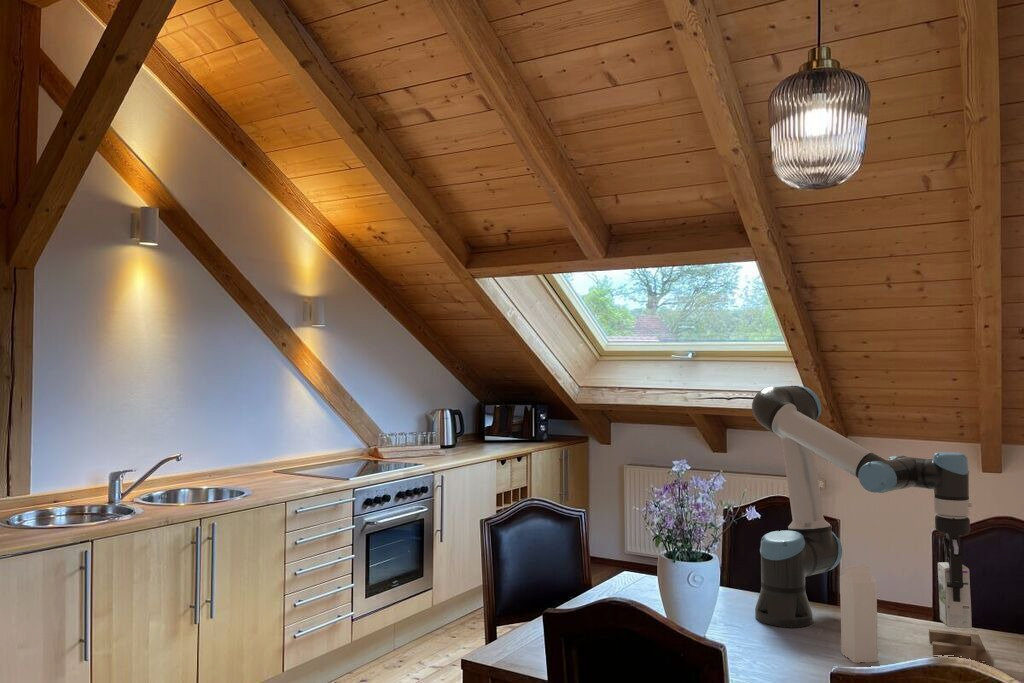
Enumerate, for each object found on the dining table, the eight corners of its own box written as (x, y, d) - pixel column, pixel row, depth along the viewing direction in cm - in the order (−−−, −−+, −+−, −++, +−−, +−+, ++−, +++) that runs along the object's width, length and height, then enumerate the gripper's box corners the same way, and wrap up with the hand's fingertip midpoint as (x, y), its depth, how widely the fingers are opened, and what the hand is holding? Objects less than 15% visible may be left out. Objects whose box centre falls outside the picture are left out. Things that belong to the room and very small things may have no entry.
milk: (878, 662, 186) (877, 568, 187) (854, 663, 186) (853, 569, 186) (863, 652, 193) (862, 562, 193) (840, 653, 192) (839, 563, 192)
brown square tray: (933, 656, 190) (933, 644, 190) (929, 641, 200) (928, 629, 200) (986, 663, 185) (985, 650, 185) (979, 646, 196) (978, 634, 196)
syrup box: (972, 628, 190) (971, 568, 190) (946, 627, 191) (944, 567, 191) (964, 621, 195) (962, 562, 196) (938, 619, 196) (936, 561, 197)
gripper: (975, 524, 183) (977, 623, 183) (964, 509, 201) (966, 600, 200) (938, 521, 186) (941, 620, 186) (931, 508, 204) (933, 597, 203)
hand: (954, 609), depth 193 cm, fingers closed on syrup box, 6 cm apart
